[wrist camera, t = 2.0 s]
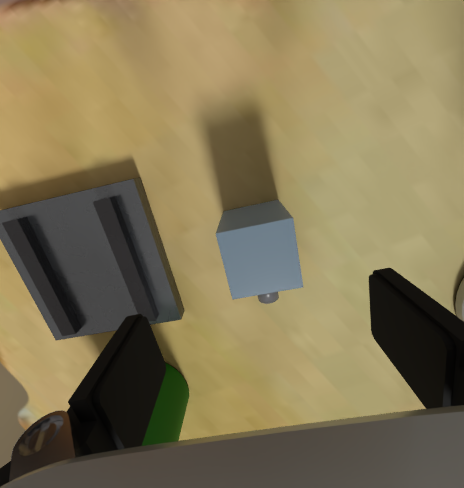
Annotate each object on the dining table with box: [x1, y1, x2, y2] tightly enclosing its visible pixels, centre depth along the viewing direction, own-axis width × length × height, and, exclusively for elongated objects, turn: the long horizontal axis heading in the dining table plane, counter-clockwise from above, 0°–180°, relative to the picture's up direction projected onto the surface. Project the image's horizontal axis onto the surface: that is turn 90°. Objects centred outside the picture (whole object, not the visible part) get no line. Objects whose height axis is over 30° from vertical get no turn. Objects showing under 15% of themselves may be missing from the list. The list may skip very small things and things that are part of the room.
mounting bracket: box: [0, 178, 184, 340], centre depth 24 cm, size 14×14×2 cm
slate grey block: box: [216, 200, 303, 304], centre depth 20 cm, size 5×7×7 cm
